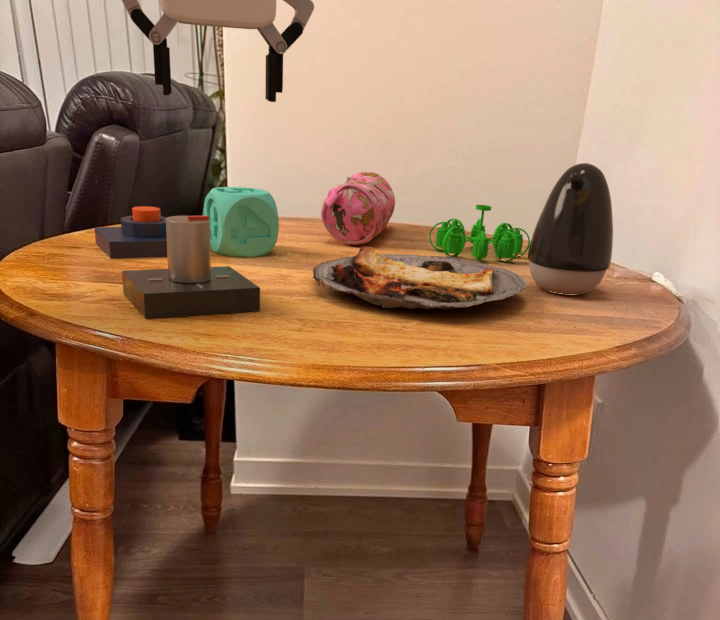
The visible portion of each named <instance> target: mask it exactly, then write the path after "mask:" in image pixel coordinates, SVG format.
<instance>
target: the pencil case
mask: <svg viewBox="0 0 720 620" xmlns="http://www.w3.org/2000/svg"><path fill="white" fill-rule="evenodd" d="M395 207H396V197H395V194H394V191H393V189H392V187H391V184H389V182H388V180H387V179H386V178H384V177H383V176H382V175H380V174H379V173H376V172H371V171H366V172H365V171H364V172H363V171H361V172H357V173H355V174H352V175H351V176H350V177H349V176H347V177H346V180H345V182H344V183H342V184H337V185H336V186H334V187H333V188H331V189H329V190H328V192H327V196H326V197H325V198H324V200H323V204H322V207H321V211H320V217H321V222H322V224H323V226H324V228H325V230H326V231H327V232H328V233H329V235H331V237H332V238H334V239H335V240H336V241H338V242H340V243H343V244H345V245H350V246H352V245H353V246H357V245H363V244H367V243H369V242H370V241H372V239H373V238H375V237H378V236H379V235H380V234H381V232H383V231H384V230H385V228H386V227H387V226H388V224H389V222H390V219H391V218H392V217H393V214H394V212H395Z"/></svg>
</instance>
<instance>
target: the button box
mask: <svg viewBox="0 0 720 620" xmlns="http://www.w3.org/2000/svg"><path fill="white" fill-rule="evenodd" d="M167 217H168V216H162V215H161V221H159V222H138V221H133V215H127V216H123V217H120V226H96V227H95V226H94V237H95V244H96V245H97V246H98V247H99V248H100V250H101V251H102V252H103V253H105V254H107V255H108V256H109V257H110V258H109V257H108V256H107V255H106V256H107V257H108V258H109V259H110V260H117V259H118V260H119V259H122V260H123V259H151V258H153V259H154V258H167V238H166V218H167Z"/></svg>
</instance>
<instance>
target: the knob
mask: <svg viewBox="0 0 720 620" xmlns="http://www.w3.org/2000/svg"><path fill="white" fill-rule="evenodd" d="M166 217H167V218H166V238H167V257H166V258H167V269H168V278H169V279H170V280H171V281H174V282H179V283H203V282H207V281H210V280H211V267H212V261H211V260H212V259H211V257H212V256H211V255H212V254H211V248H210V220H209V216H203V215H172V216H166Z"/></svg>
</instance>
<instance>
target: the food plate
mask: <svg viewBox="0 0 720 620" xmlns="http://www.w3.org/2000/svg"><path fill="white" fill-rule="evenodd" d="M312 274H313V276H312V279H314V281H316V282H317V283H318V285H317V287H319V286H321V285H322V287H323V288H325V287H326V286H330V289H331V291H334V292H345V293H348V294H349V295H351V294H353V295H354V296H356V297H357V298H360V299H362V300H364V301H365V302H367V303H370V304H373V305H376V306H381V309H383V308H385V309H386V308H388V309H391V308H392V309H394V308H405V309H406V308H407V309H410V310H411V309H412V310H414V309H424V310H425V309H426V310H430V309H440V310H450V309H454V310H456V309H460V308H462V309H465V308H469V307H473V306H478V305H481V304H484V303H488V302H492V301H500V300H503V301H505V300H506V298H510V297H515V296H517V294H519V293H520V292H523V291H524V289H526V287H527V286H528V285H529V283H528V282H526V280H524V277H523V276H521V275H519V274H518V273H516V272H514V271H512V270H508V269H506V268H502V267H498V266H493V265H489V264H486V263H485V262H482V261H481V262H479V261H477V260H475V259H470V258H464V257H458V256H456V257H449V256H444V255H443V256H440V255H439V256H438V255H432V256H428V255H420V254H410V253H409V254H404V253H402V254H401V253H400V254H399V253H398V254H397V253H394V254H393V253H388V254H386V253H385V254H379V252H378V250H377V249H375V248H374V247H371V246H362V247H360V249H359V250H358V253H357V254H355V255H354V256H346V257H345V256H343V257H339V258H336V259H332V260H328V261H327V260H326V261H324V262H323V261H322V262H320V263H319V264H317V265H316V266H314V267H313V268H312ZM320 283H321V285H320Z"/></svg>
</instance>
